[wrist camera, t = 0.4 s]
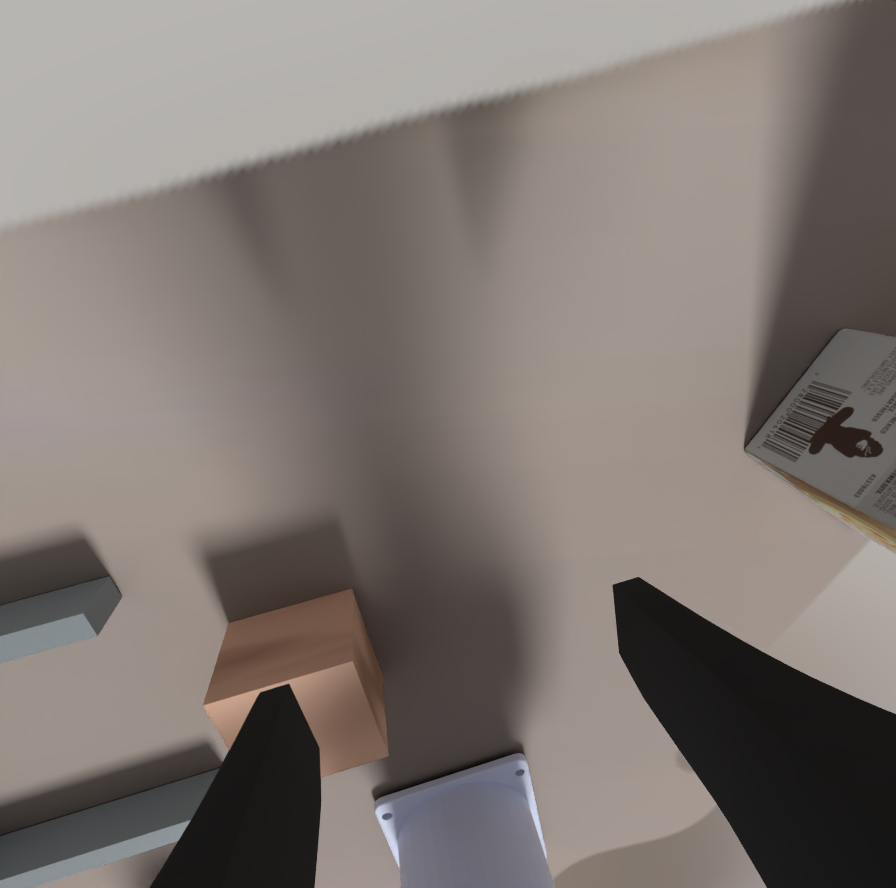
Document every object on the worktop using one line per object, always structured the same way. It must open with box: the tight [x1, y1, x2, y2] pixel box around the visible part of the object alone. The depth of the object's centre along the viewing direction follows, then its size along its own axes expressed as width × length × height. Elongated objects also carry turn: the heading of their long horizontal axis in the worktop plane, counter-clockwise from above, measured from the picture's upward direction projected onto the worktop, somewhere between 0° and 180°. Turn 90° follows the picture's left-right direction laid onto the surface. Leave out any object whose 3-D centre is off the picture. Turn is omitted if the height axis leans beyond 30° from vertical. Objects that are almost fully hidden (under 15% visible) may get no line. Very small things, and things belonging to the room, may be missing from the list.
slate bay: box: [0, 576, 220, 888], centre depth 19 cm, size 12×12×2 cm
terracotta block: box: [203, 588, 389, 778], centre depth 19 cm, size 5×5×4 cm
